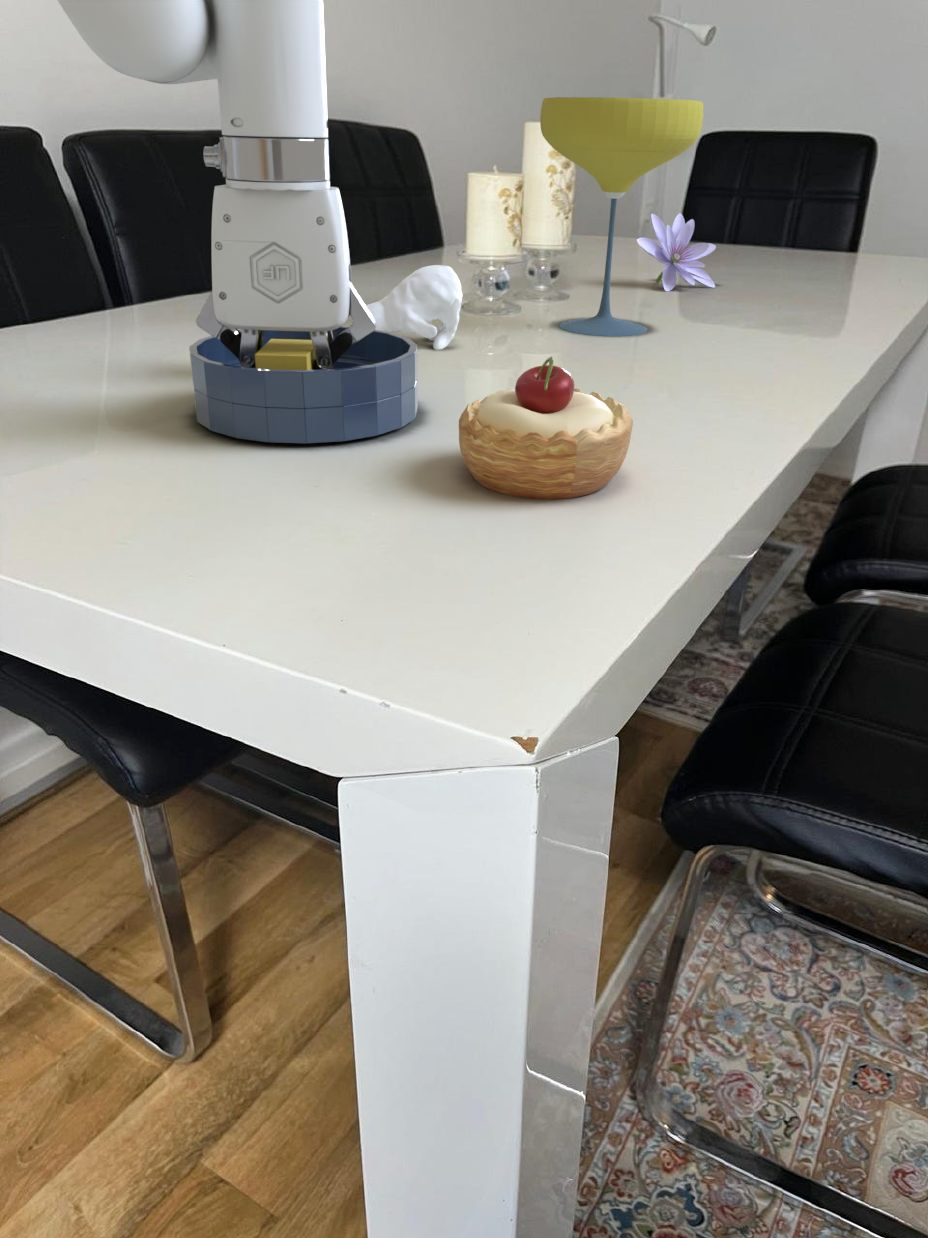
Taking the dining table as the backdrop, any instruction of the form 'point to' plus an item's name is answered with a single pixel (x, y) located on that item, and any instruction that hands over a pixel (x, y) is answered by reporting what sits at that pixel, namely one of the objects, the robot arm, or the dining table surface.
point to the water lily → (677, 252)
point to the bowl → (308, 391)
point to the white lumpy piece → (422, 305)
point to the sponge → (286, 355)
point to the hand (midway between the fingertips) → (292, 411)
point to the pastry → (544, 437)
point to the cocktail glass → (617, 160)
